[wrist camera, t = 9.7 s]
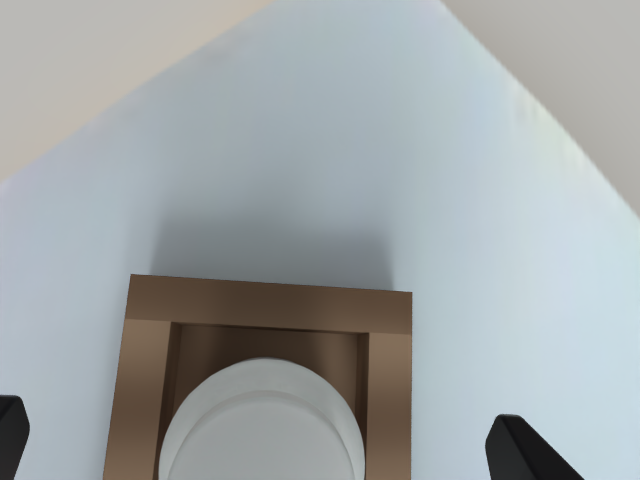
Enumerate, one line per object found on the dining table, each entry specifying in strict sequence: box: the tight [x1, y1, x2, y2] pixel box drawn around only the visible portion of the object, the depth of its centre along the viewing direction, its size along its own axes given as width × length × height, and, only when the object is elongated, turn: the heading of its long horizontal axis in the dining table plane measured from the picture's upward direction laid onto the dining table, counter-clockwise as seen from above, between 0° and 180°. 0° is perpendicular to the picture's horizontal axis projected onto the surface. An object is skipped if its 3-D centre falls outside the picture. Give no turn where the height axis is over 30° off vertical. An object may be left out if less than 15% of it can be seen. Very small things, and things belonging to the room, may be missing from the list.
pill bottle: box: [159, 357, 365, 480], centre depth 15 cm, size 5×5×10 cm
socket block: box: [103, 274, 412, 480], centre depth 19 cm, size 10×10×3 cm
